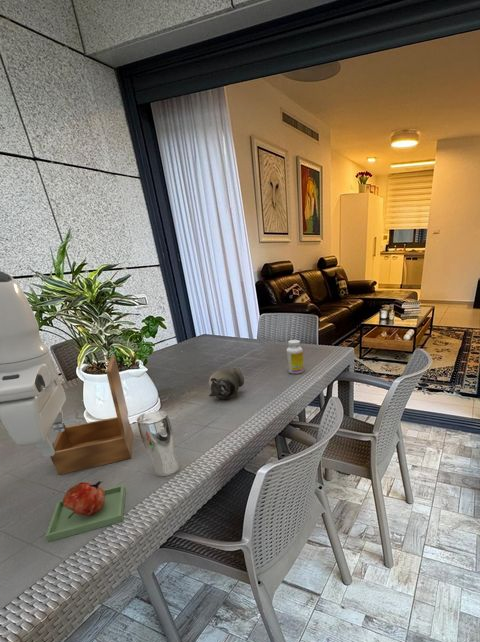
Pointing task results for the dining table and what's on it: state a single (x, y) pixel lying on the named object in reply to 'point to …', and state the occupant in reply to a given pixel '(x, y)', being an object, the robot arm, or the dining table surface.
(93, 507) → the pomegranate
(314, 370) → the dining table surface
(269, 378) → the dining table surface
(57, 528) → the tray
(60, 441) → the warming box
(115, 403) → the box lid
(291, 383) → the dining table surface
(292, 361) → the supplement bottle
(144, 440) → the beer glass
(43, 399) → the robot arm
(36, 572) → the dining table surface
